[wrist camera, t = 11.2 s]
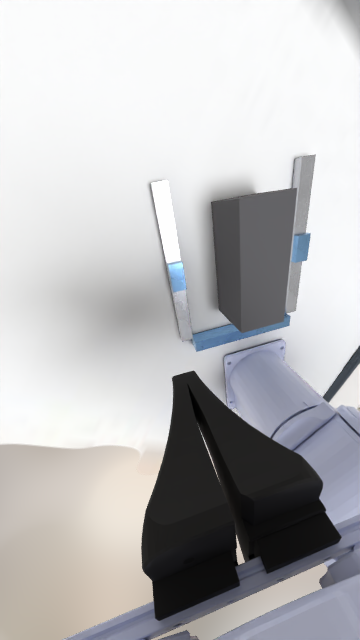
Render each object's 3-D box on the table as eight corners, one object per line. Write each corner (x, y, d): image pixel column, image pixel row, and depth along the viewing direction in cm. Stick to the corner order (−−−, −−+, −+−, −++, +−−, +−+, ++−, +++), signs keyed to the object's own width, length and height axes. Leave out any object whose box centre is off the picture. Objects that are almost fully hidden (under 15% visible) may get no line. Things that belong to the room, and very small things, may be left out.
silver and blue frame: (375, 293, 26) (389, 297, 24) (182, 346, 23) (185, 354, 21) (427, 135, 18) (450, 130, 17) (150, 184, 15) (152, 181, 14)
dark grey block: (253, 300, 22) (283, 321, 18) (218, 309, 22) (241, 333, 18) (254, 193, 17) (297, 187, 13) (210, 202, 17) (239, 198, 13)
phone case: (344, 407, 39) (405, 335, 32) (352, 415, 37) (417, 341, 31) (309, 407, 36) (367, 329, 29) (316, 415, 34) (379, 335, 28)
